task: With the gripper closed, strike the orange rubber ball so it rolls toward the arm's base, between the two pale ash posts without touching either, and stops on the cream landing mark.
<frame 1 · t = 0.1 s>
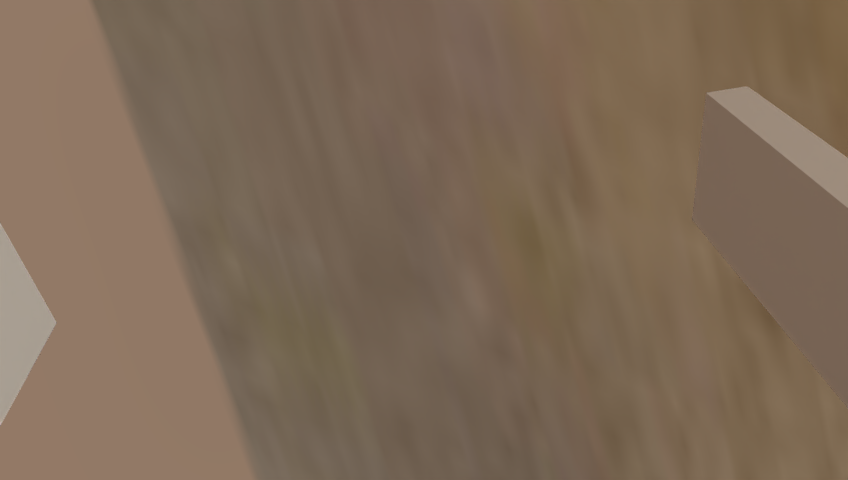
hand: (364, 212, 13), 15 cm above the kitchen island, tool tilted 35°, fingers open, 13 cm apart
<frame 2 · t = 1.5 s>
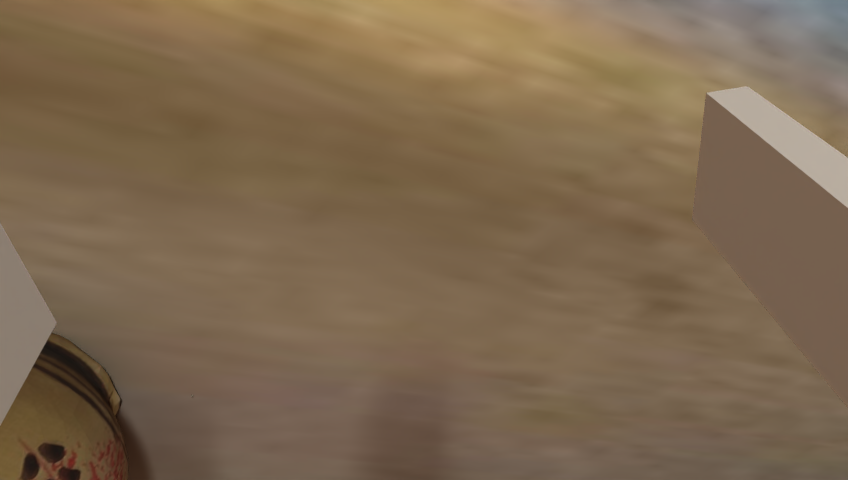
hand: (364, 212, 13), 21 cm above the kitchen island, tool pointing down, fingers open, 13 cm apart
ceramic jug: (55, 392, 42), on the kitchen island
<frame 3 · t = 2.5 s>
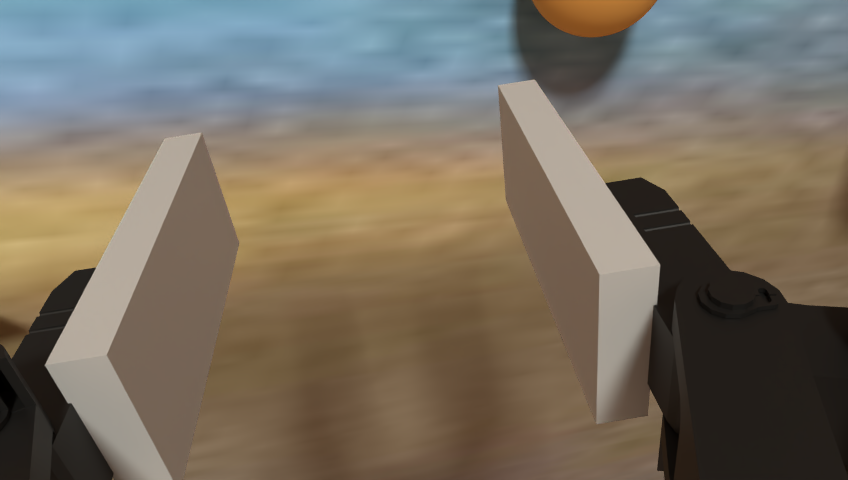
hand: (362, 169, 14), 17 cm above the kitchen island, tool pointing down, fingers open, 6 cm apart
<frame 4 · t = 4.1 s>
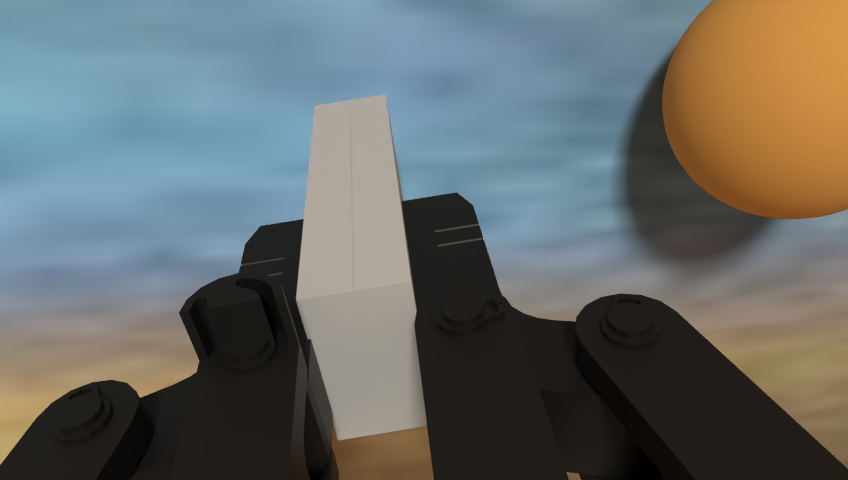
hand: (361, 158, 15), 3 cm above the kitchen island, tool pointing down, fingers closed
ball: (793, 95, 15), on the kitchen island
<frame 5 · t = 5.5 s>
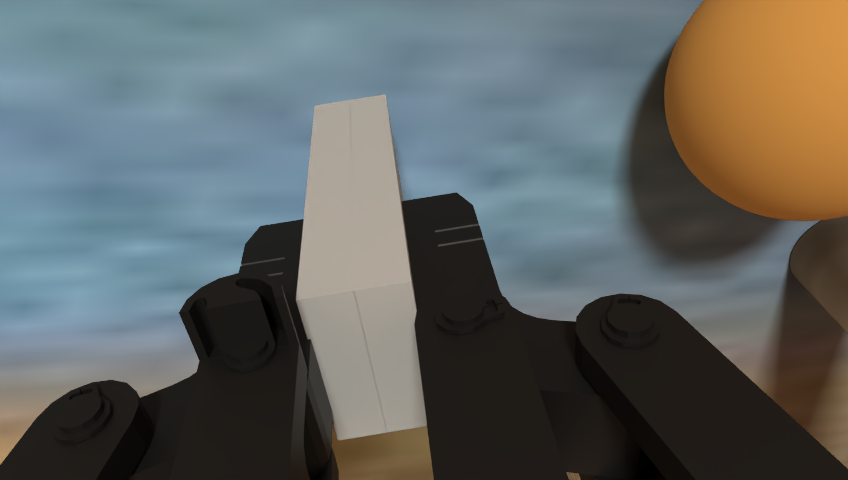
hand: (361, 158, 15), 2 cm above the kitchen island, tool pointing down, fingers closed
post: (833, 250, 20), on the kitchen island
ball: (806, 87, 14), on the kitchen island
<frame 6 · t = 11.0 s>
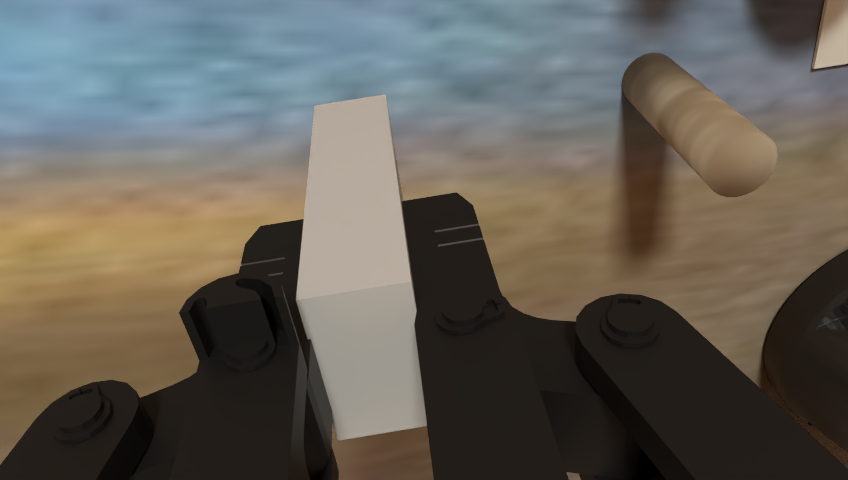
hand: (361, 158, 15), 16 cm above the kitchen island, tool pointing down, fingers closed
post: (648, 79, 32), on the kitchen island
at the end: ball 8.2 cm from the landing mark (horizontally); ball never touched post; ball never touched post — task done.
